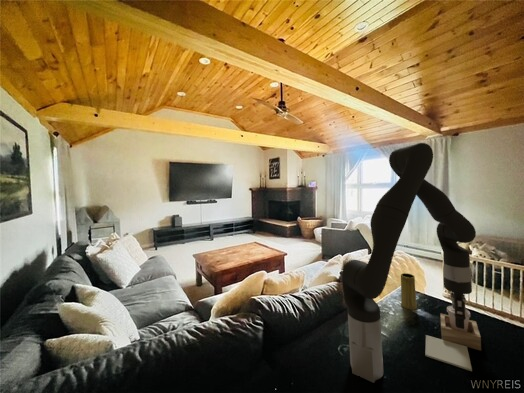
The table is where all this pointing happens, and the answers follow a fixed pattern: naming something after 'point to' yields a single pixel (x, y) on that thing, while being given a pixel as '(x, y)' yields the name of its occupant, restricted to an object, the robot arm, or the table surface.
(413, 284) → the vase
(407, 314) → the table surface
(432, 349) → the mat
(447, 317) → the sleeve
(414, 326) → the table surface
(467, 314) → the smoothie
